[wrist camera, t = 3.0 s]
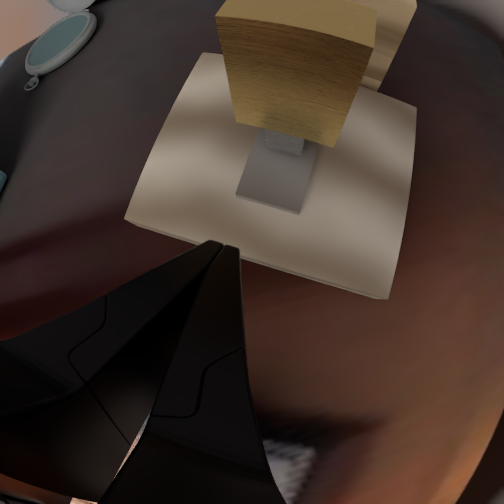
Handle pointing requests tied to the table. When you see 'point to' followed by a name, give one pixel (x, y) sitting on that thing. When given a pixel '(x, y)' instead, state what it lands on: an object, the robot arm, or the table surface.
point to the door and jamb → (289, 177)
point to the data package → (2, 179)
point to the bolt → (295, 65)
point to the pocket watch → (60, 39)
